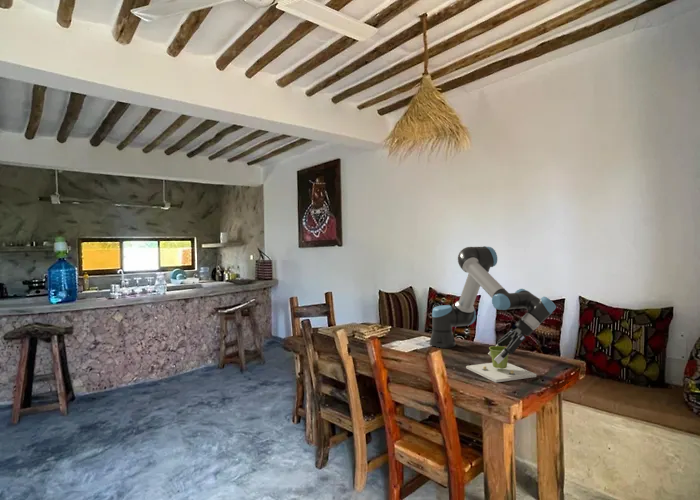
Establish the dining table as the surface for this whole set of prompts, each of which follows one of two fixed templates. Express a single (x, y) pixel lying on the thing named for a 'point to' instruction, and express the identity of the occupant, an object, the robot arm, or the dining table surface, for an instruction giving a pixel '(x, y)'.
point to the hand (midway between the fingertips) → (493, 358)
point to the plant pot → (495, 352)
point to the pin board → (501, 372)
